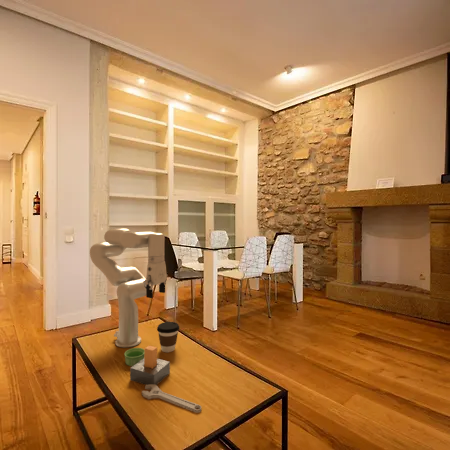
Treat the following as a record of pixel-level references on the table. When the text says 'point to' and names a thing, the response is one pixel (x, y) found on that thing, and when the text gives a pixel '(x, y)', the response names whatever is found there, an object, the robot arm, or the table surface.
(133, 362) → the ramekin
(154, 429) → the table surface
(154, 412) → the table surface
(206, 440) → the table surface
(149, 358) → the orange square peg
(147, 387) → the adjustable wrench
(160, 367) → the grey square frame
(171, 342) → the coffee cup
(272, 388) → the table surface
